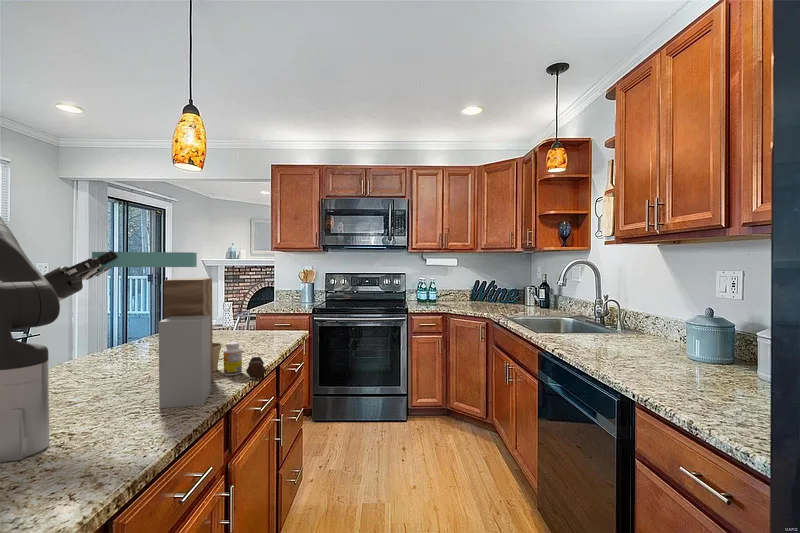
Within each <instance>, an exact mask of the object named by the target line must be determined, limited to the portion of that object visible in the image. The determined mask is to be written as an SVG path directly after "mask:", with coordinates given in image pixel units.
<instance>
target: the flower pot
mask: <svg viewBox="0 0 800 533" xmlns="http://www.w3.org/2000/svg"><path fill="white" fill-rule="evenodd" d="M222 346H223V343H220V342H212V347H213V373H214V372H216V371H217V370H218V367H219V361H220V353H221V350H222Z"/></svg>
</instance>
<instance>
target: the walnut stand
mask: <svg viewBox="0 0 800 533" xmlns="http://www.w3.org/2000/svg"><path fill="white" fill-rule="evenodd" d="M203 315H210V371H211V383H212V381H213V376H214V374H213V373H214V372H213V347H212V343H213V278H212V277H191V278H190V277H184V278H183V277H182V278H181V277H180V278H179V277H178V278H170V279H164V280H163V318H164V319H166V318H169V317H171V316H203ZM164 319H163V320H164Z"/></svg>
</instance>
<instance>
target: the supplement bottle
mask: <svg viewBox="0 0 800 533" xmlns="http://www.w3.org/2000/svg"><path fill="white" fill-rule="evenodd" d="M242 353H243V350H242V348H241V347H240V342H238V341H231V342H226V343H225V349H224V350H223V374H224V375H225V376H231V377H233V376H238V375H240V374H241V373H242V372H243V369H242V368H243V359H242V358H243V355H242Z"/></svg>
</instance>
